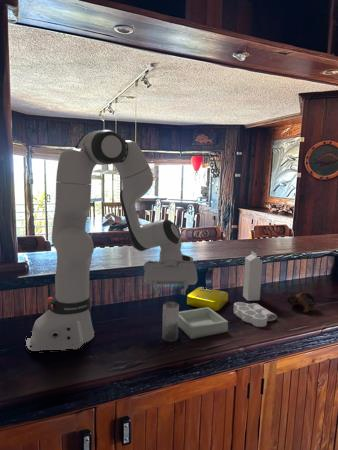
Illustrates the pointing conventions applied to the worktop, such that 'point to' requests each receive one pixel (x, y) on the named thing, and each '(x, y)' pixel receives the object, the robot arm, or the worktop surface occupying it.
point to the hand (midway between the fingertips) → (170, 294)
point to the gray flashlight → (170, 321)
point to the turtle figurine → (301, 301)
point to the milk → (252, 277)
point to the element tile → (207, 298)
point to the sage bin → (202, 322)
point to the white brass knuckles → (253, 313)
